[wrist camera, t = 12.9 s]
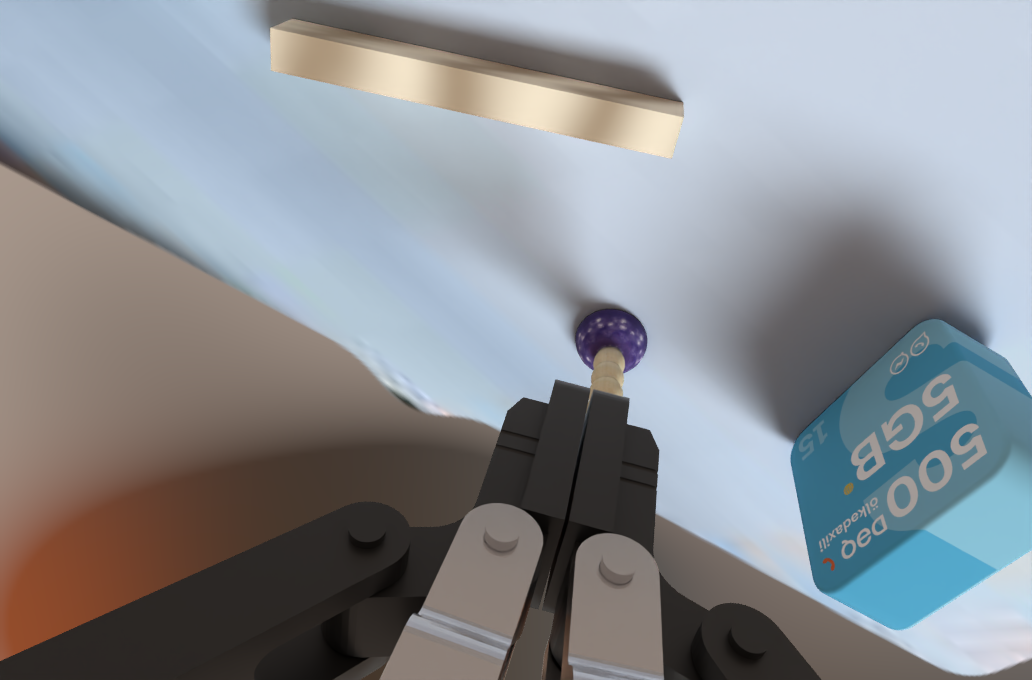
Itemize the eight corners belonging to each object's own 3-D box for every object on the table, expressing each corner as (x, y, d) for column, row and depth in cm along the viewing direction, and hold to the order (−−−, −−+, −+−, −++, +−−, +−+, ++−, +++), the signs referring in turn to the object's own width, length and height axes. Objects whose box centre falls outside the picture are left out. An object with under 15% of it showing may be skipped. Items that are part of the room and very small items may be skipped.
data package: (933, 305, 40) (1019, 455, 30) (1000, 346, 40) (1106, 505, 30) (785, 445, 46) (815, 605, 36) (844, 477, 47) (890, 644, 37)
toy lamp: (586, 292, 43) (545, 498, 29) (665, 311, 43) (661, 528, 29) (569, 358, 46) (523, 575, 32) (643, 377, 45) (630, 603, 32)
